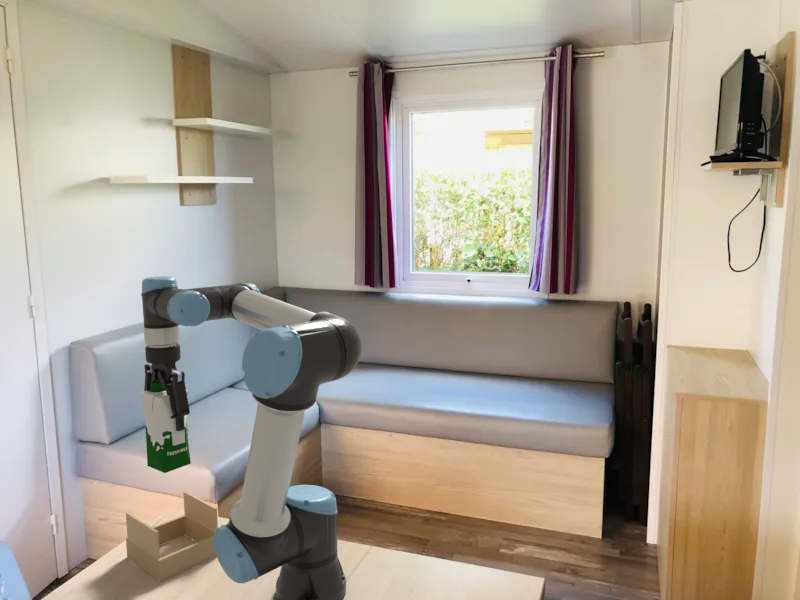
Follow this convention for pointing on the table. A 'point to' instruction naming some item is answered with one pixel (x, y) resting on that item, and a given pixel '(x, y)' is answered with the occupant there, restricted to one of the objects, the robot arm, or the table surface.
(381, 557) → the table surface
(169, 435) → the soya milk
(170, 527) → the wooden tray box
